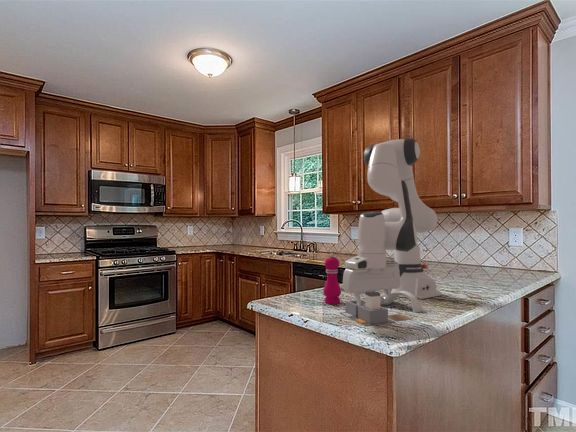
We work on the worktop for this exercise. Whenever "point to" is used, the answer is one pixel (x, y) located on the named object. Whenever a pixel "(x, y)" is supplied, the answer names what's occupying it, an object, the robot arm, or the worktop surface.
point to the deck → (398, 317)
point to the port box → (365, 314)
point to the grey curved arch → (411, 297)
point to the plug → (372, 300)
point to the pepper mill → (332, 281)
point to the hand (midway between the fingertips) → (372, 304)
